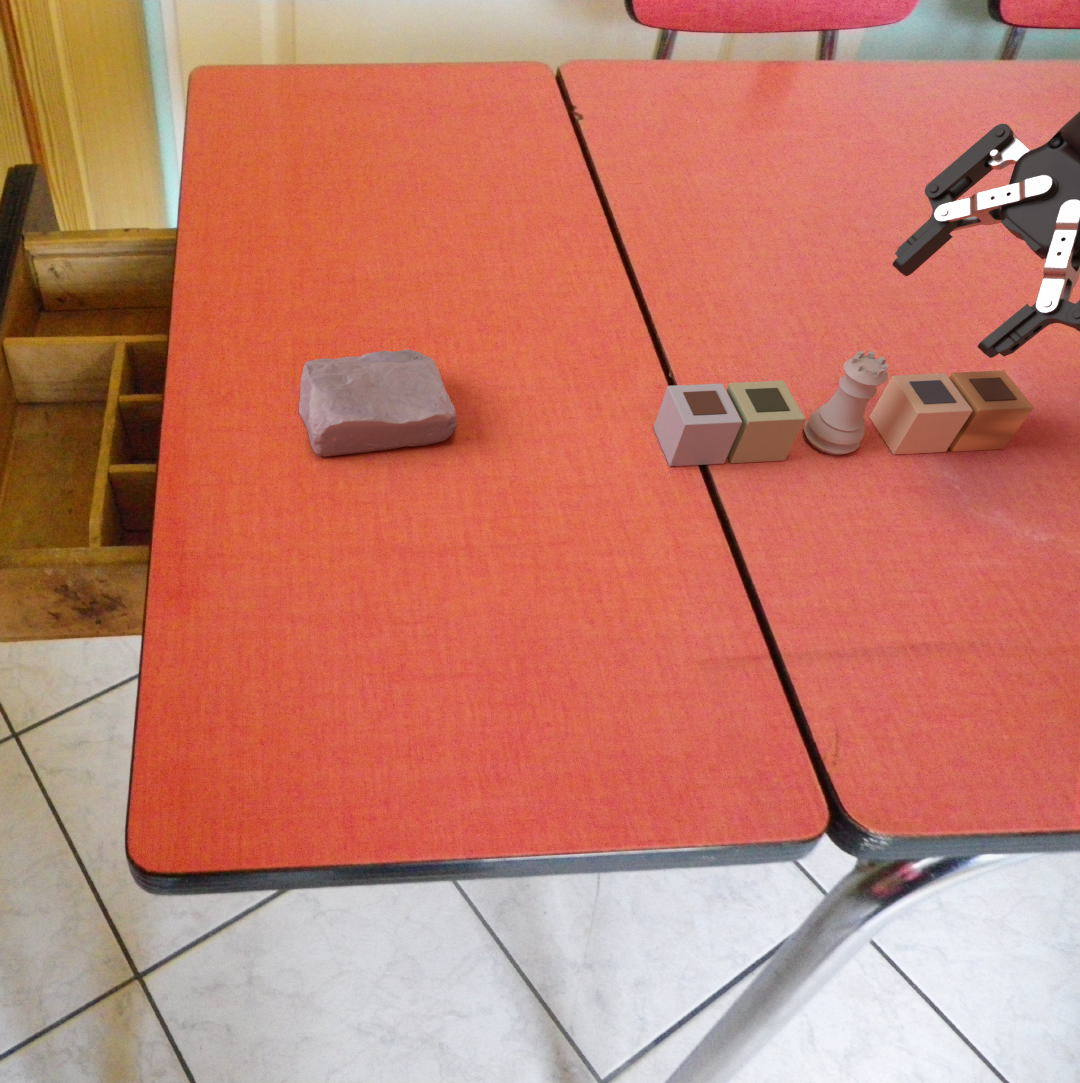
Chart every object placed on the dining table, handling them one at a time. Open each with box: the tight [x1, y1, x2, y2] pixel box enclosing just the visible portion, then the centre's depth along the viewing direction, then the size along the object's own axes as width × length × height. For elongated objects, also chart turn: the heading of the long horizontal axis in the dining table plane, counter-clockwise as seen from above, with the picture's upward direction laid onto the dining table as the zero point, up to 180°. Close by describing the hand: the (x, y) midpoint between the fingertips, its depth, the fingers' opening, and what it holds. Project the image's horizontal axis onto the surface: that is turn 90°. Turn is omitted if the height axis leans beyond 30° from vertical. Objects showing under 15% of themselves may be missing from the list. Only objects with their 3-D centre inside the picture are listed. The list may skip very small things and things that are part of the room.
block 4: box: [948, 369, 1034, 452], centre depth 80 cm, size 4×4×5 cm
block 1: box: [653, 382, 742, 467], centre depth 78 cm, size 4×4×5 cm
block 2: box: [726, 380, 806, 464], centre depth 78 cm, size 4×4×5 cm
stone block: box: [298, 348, 458, 457], centre depth 80 cm, size 12×5×10 cm
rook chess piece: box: [803, 350, 890, 456], centre depth 78 cm, size 4×4×8 cm
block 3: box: [869, 372, 973, 456], centre depth 79 cm, size 4×4×5 cm
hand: (940, 310), depth 69 cm, fingers open, 8 cm apart
